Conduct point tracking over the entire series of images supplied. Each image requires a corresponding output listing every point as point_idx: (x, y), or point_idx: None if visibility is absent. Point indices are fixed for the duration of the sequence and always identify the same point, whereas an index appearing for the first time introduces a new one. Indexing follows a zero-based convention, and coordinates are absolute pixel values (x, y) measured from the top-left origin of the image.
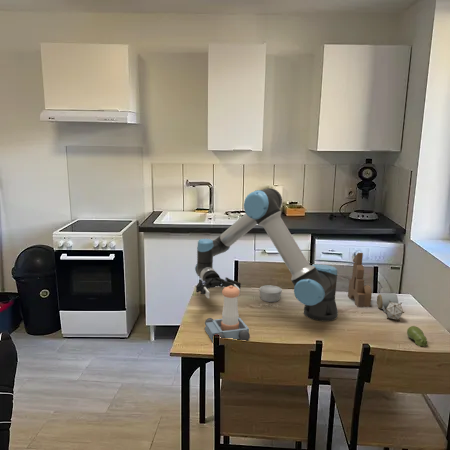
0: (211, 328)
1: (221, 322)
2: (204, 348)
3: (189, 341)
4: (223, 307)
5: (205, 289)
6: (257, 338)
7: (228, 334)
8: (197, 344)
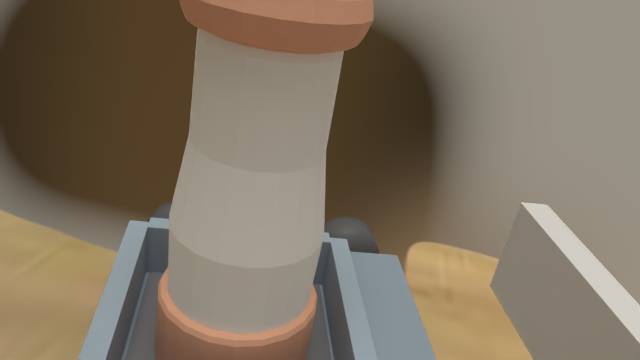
0: (399, 302)
1: (315, 302)
2: (430, 265)
3: None
4: (324, 175)
5: (625, 294)
6: (75, 262)
7: None
8: (473, 302)
